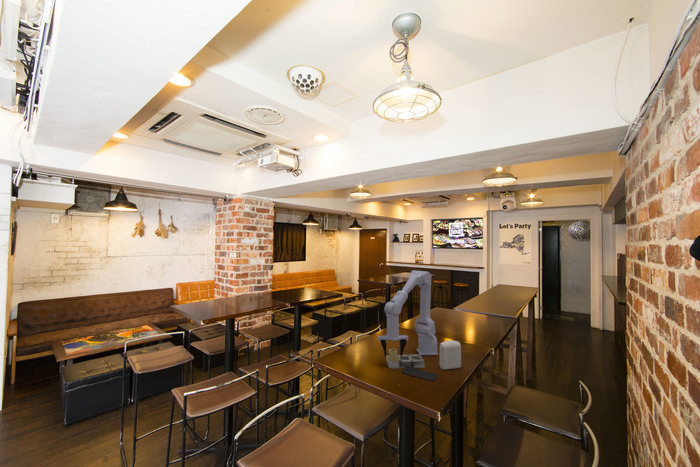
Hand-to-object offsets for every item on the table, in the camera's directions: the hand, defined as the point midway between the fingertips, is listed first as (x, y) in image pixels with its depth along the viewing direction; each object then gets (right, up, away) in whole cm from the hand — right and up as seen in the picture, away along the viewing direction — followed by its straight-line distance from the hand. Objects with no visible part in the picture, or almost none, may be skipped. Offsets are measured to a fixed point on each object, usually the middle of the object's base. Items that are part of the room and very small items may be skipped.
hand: (393, 355), depth 136 cm
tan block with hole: (0, -4, 0) cm, 4 cm away
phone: (+10, -5, -10) cm, 15 cm away
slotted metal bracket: (+6, -4, 0) cm, 7 cm away
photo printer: (+26, -4, -4) cm, 27 cm away
